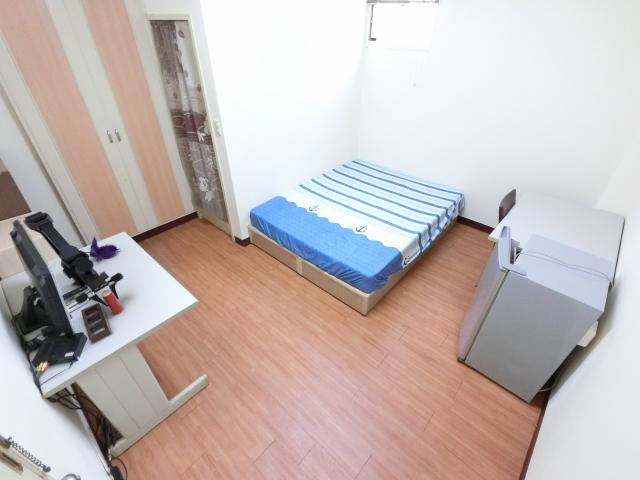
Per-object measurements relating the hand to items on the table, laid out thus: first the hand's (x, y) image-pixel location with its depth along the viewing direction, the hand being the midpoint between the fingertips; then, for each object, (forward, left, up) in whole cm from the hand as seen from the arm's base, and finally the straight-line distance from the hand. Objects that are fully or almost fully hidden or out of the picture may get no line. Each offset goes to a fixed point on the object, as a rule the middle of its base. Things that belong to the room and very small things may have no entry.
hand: (113, 302), depth 129 cm
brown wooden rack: (-5, -7, -7) cm, 11 cm away
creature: (-34, +34, -7) cm, 48 cm away
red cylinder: (-1, +1, -7) cm, 7 cm away
